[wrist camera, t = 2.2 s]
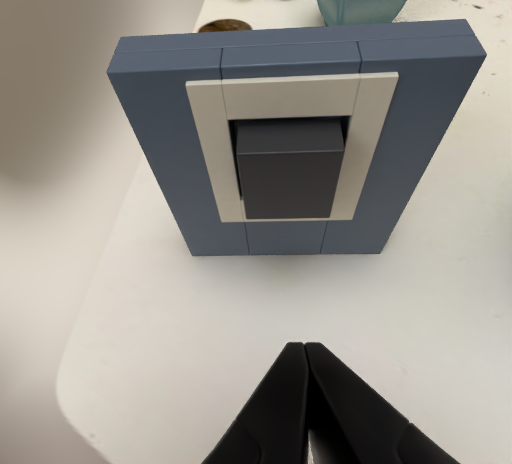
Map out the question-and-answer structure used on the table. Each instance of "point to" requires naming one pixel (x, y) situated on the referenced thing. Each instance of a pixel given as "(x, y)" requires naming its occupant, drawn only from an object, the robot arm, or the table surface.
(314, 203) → the switch button
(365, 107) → the wall panel
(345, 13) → the flower pot
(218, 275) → the table surface
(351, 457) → the robot arm
